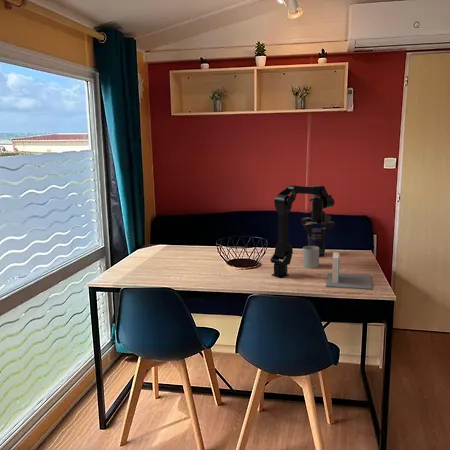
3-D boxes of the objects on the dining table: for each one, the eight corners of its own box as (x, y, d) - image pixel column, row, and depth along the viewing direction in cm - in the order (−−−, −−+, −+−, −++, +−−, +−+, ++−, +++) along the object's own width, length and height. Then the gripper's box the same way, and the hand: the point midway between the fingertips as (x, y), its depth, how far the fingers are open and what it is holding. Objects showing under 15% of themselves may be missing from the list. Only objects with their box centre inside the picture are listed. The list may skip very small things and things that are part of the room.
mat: (325, 286, 208) (326, 285, 208) (328, 273, 227) (328, 272, 227) (372, 289, 203) (372, 288, 202) (370, 275, 221) (370, 274, 221)
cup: (300, 267, 239) (300, 248, 237) (305, 263, 246) (305, 245, 244) (316, 269, 235) (316, 250, 233) (320, 265, 242) (321, 246, 240)
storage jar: (320, 258, 254) (320, 232, 251) (304, 255, 260) (304, 230, 257) (327, 254, 262) (328, 228, 259) (312, 252, 268) (312, 227, 265)
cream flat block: (332, 282, 212) (332, 257, 209) (333, 276, 221) (333, 252, 219) (338, 283, 211) (339, 257, 209) (339, 276, 220) (339, 252, 218)
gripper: (342, 209, 234) (341, 239, 237) (314, 205, 248) (314, 233, 251) (327, 212, 227) (326, 242, 230) (300, 208, 242) (299, 236, 245)
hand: (316, 238), depth 239 cm, fingers open, 9 cm apart
